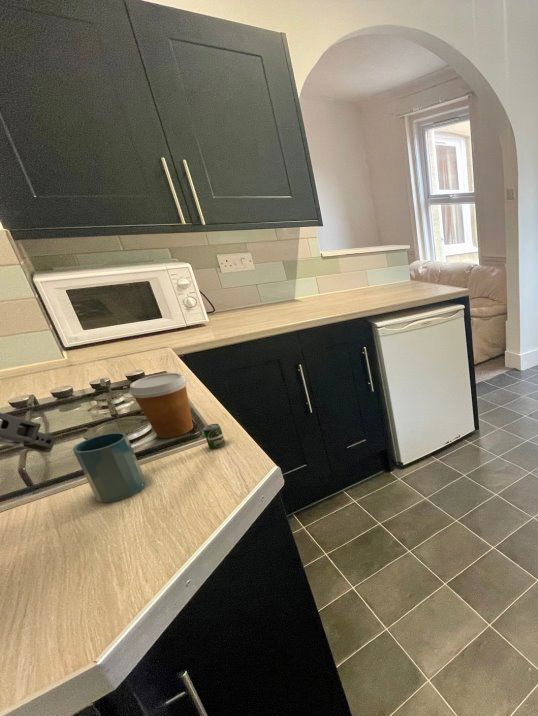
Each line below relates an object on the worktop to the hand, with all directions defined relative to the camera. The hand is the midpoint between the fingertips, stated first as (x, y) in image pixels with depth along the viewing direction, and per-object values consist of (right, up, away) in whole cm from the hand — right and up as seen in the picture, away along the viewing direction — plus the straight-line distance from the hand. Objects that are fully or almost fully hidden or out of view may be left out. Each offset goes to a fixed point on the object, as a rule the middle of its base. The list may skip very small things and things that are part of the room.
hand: (16, 447), depth 55 cm
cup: (-1, -10, +16) cm, 19 cm away
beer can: (+6, -4, +29) cm, 30 cm away
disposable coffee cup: (-8, -2, +36) cm, 37 cm away
